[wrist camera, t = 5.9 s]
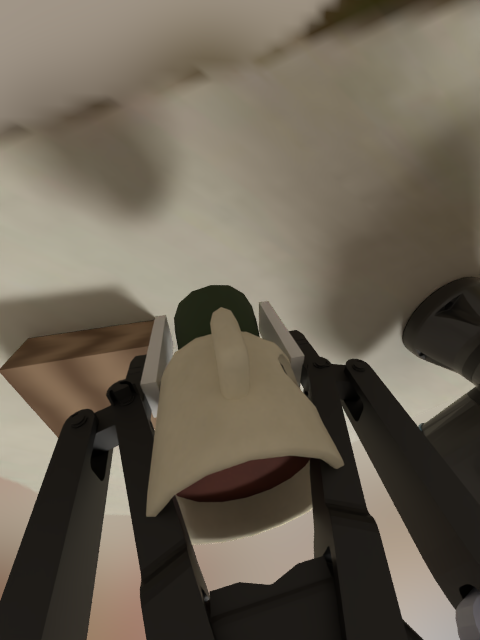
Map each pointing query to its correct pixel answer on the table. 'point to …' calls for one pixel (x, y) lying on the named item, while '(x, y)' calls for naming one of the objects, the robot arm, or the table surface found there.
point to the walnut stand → (74, 369)
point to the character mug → (232, 425)
